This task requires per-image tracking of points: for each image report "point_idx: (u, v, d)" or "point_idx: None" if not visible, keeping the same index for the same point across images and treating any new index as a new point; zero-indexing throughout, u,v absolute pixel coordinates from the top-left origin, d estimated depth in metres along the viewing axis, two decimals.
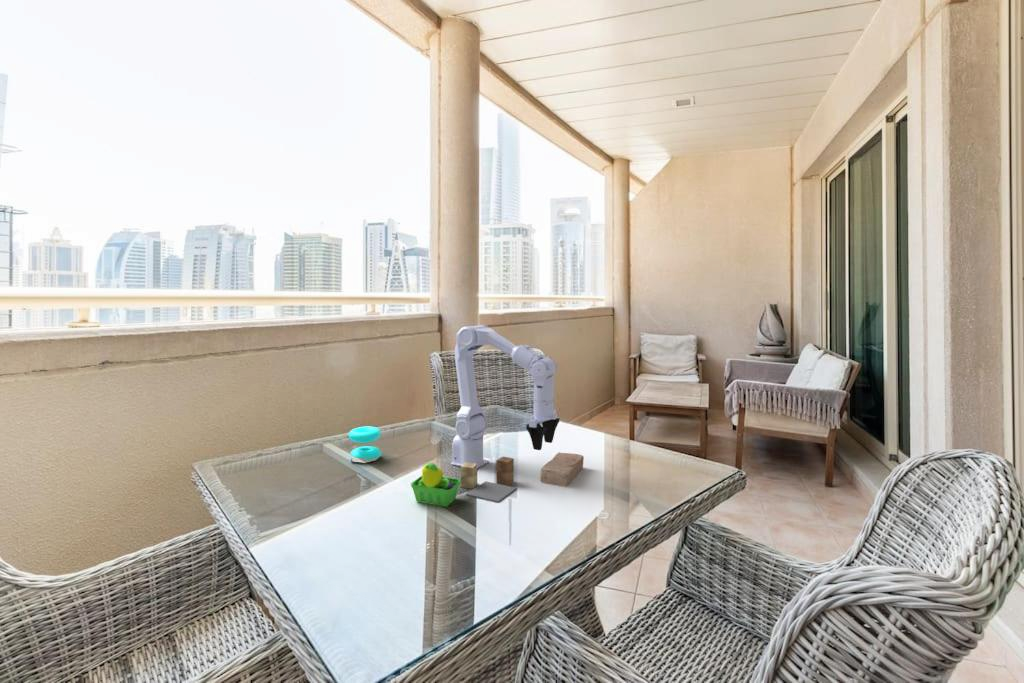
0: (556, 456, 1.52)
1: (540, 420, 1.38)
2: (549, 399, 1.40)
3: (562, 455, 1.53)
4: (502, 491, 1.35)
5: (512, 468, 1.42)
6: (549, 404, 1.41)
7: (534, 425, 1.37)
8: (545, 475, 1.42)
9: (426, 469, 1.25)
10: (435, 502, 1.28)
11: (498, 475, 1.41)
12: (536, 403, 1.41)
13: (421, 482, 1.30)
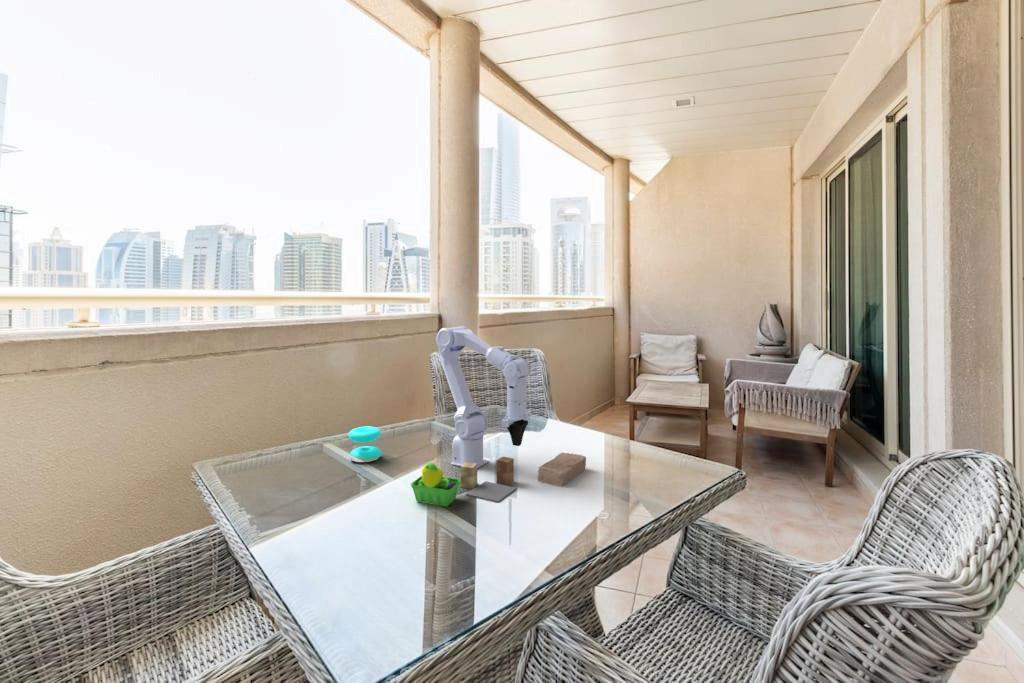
0: (558, 456, 1.53)
1: (513, 420, 1.41)
2: (521, 399, 1.43)
3: (564, 455, 1.53)
4: (502, 491, 1.35)
5: (512, 468, 1.42)
6: (522, 404, 1.44)
7: (506, 425, 1.40)
8: (542, 474, 1.42)
9: (426, 469, 1.25)
10: (435, 502, 1.28)
11: (498, 475, 1.41)
12: (509, 403, 1.44)
13: (421, 482, 1.30)
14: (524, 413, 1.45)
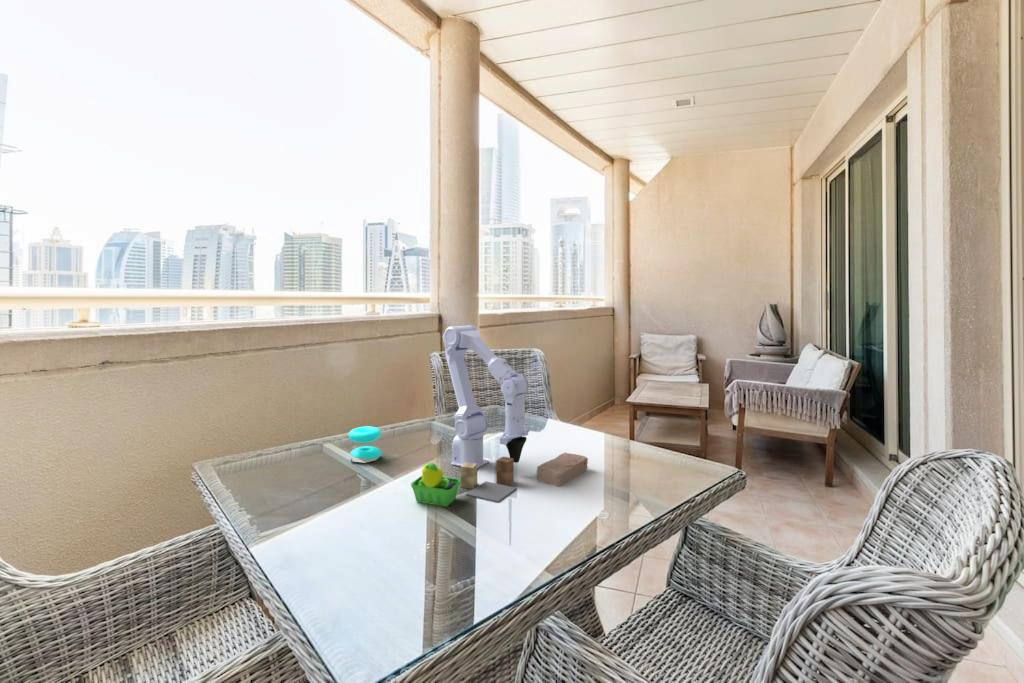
0: (559, 456, 1.53)
1: (511, 437, 1.41)
2: (519, 416, 1.43)
3: (566, 455, 1.53)
4: (502, 491, 1.35)
5: (512, 468, 1.42)
6: (520, 421, 1.43)
7: (505, 442, 1.39)
8: (540, 473, 1.43)
9: (426, 469, 1.25)
10: (435, 502, 1.28)
11: (498, 475, 1.41)
12: (507, 420, 1.44)
13: (421, 482, 1.30)
14: (522, 430, 1.44)
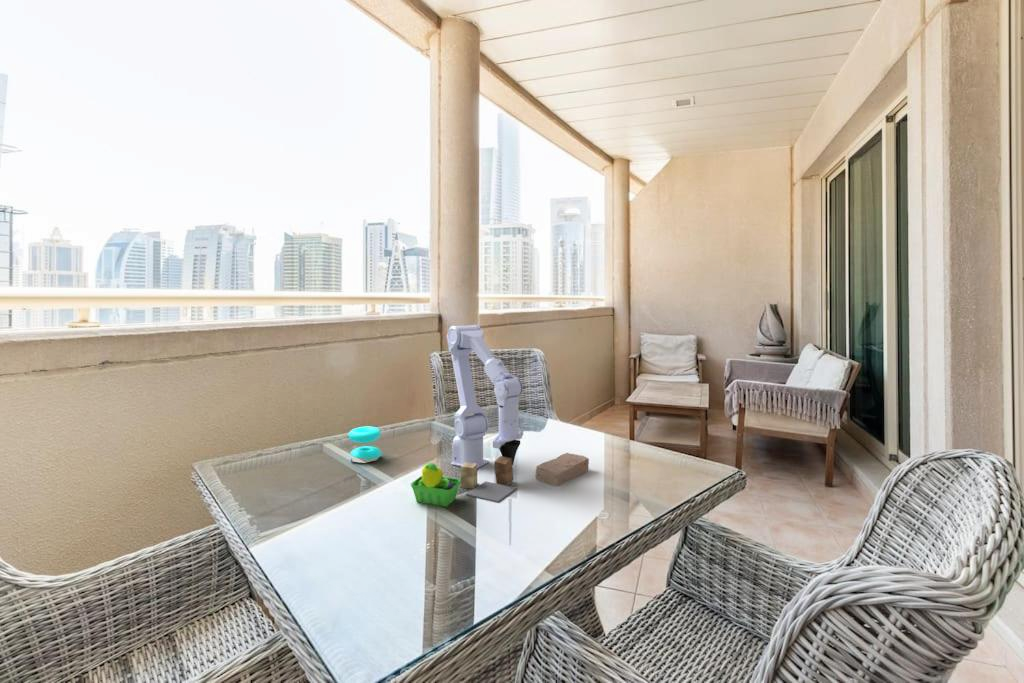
0: (560, 456, 1.53)
1: (504, 441, 1.38)
2: (510, 419, 1.39)
3: (567, 456, 1.53)
4: (502, 491, 1.35)
5: (511, 467, 1.41)
6: (514, 424, 1.40)
7: (498, 446, 1.36)
8: (538, 472, 1.44)
9: (426, 469, 1.25)
10: (435, 502, 1.28)
11: (497, 476, 1.40)
12: (501, 423, 1.40)
13: (421, 482, 1.29)
14: (516, 433, 1.41)
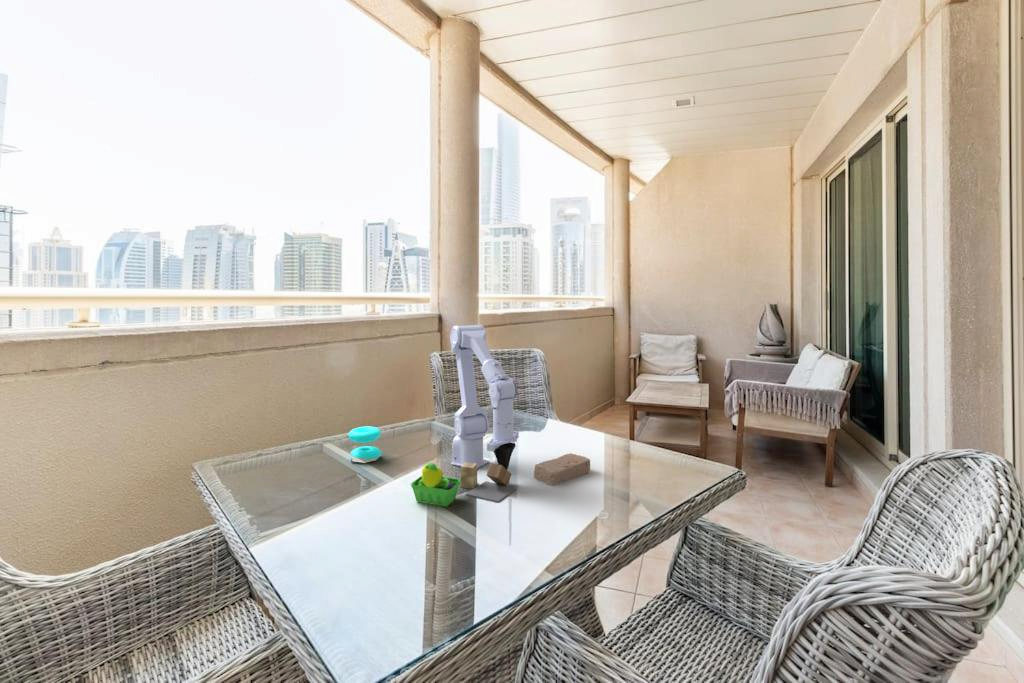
0: (563, 456, 1.53)
1: (498, 443, 1.35)
2: (503, 422, 1.37)
3: (570, 456, 1.53)
4: (502, 491, 1.35)
5: (504, 471, 1.38)
6: (508, 426, 1.37)
7: (492, 449, 1.33)
8: (537, 471, 1.45)
9: (426, 469, 1.25)
10: (435, 502, 1.28)
11: (494, 481, 1.39)
12: (495, 425, 1.38)
13: (421, 482, 1.29)
14: (511, 436, 1.38)
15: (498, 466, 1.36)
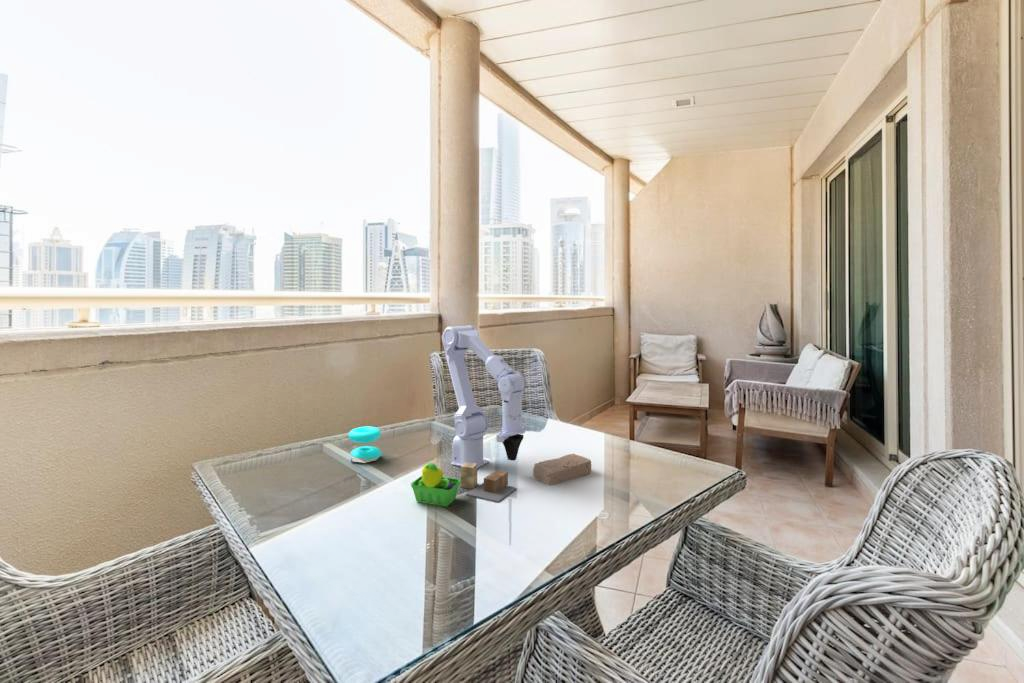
0: (564, 456, 1.52)
1: (507, 435, 1.40)
2: (515, 414, 1.42)
3: (571, 456, 1.52)
4: (502, 491, 1.35)
5: (500, 479, 1.36)
6: (517, 419, 1.42)
7: (501, 440, 1.39)
8: (535, 470, 1.45)
9: (426, 469, 1.25)
10: (435, 502, 1.28)
11: None
12: (504, 418, 1.43)
13: (421, 482, 1.30)
14: (519, 428, 1.43)
15: (492, 482, 1.34)
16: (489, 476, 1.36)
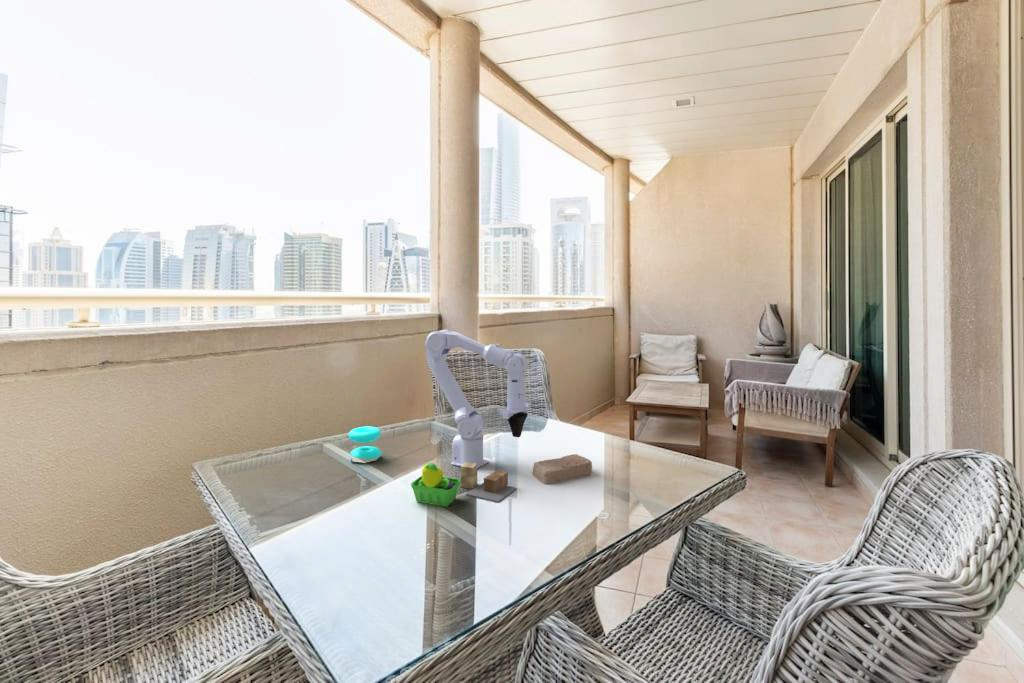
0: (566, 456, 1.52)
1: (513, 412, 1.48)
2: (523, 392, 1.50)
3: (573, 457, 1.52)
4: (502, 491, 1.35)
5: (500, 479, 1.36)
6: (521, 397, 1.50)
7: (507, 416, 1.46)
8: (534, 469, 1.46)
9: (426, 469, 1.25)
10: (435, 502, 1.28)
11: None
12: (509, 396, 1.50)
13: (421, 482, 1.30)
14: (524, 406, 1.51)
15: (492, 482, 1.34)
16: (489, 476, 1.36)
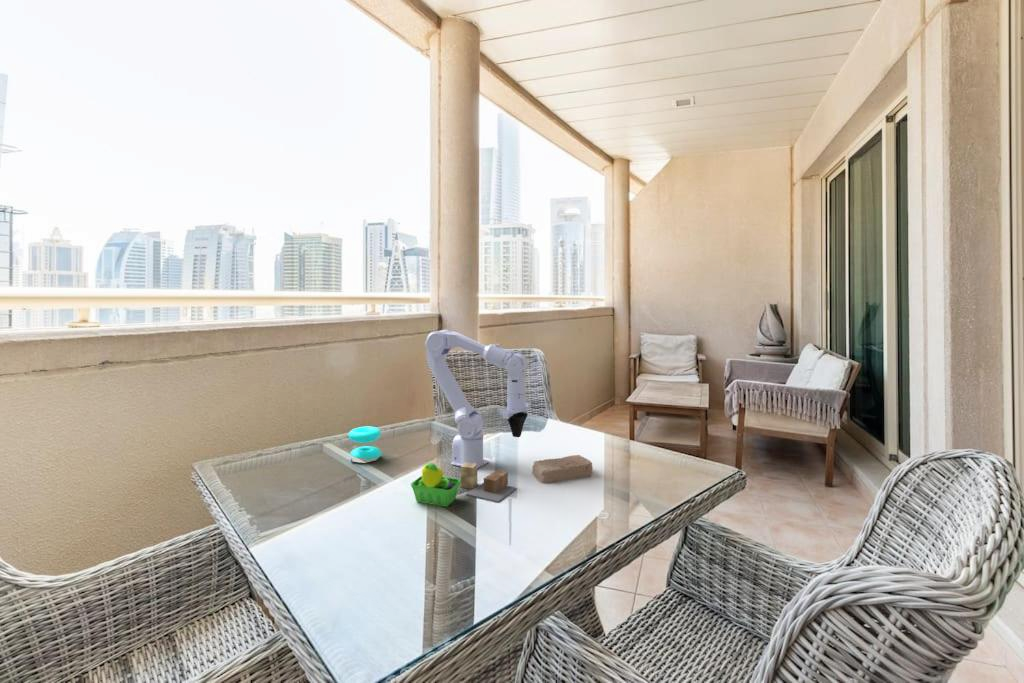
0: (568, 457, 1.52)
1: (513, 412, 1.48)
2: (523, 392, 1.50)
3: (575, 457, 1.51)
4: (502, 491, 1.35)
5: (500, 479, 1.36)
6: (521, 397, 1.50)
7: (507, 416, 1.46)
8: (534, 468, 1.47)
9: (426, 469, 1.25)
10: (435, 502, 1.28)
11: None
12: (509, 396, 1.50)
13: (421, 482, 1.29)
14: (524, 406, 1.51)
15: (492, 482, 1.34)
16: (489, 476, 1.36)
